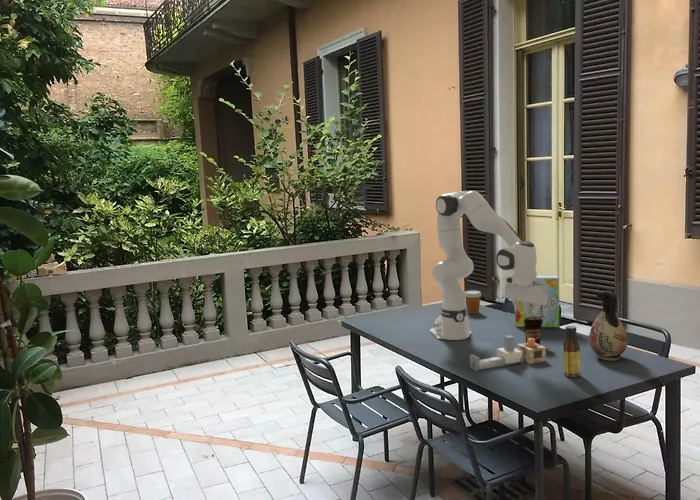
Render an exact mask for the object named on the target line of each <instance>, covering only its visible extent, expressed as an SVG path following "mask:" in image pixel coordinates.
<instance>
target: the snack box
mask: <svg viewBox="0 0 700 500" xmlns="http://www.w3.org/2000/svg"><path fill="white" fill-rule="evenodd" d="M537 282H542V283H544V284H545V286H546V290H547V297H548V302H547V304H545V305H540V307H539V309H538V313H537V314H532V310H534V308H535V306H534V304H532V303H527V302H522V301H517V303H518V306H520V310H515V309H514V322H515V323H514V324H515V325H514V326H515V328H525V325H524V320H525V319H526V317H531V316H537V317H541V320H542V321H543V323H542V327H541V328H559V327H560V299H559V298H560V297H559V295H560V293H559V291H560V290H559V285H560V282H559V277H558V275H556V274H555V275H554V274H553V275H552V274H551V275H550V274H549V275H546V274H543V275H542V274H541V275H537Z"/></svg>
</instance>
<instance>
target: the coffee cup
mask: <svg viewBox="0 0 700 500" xmlns="http://www.w3.org/2000/svg"><path fill="white" fill-rule="evenodd" d="M542 323H543V321H542V320H541V317H537V316H531V317H526V319H525V320H524V325H525V327H524V333H525V334H524V335H525V343H527V339H528V338H534V339H535V343H537V344H539V345H541V336H542V328H543V327H542Z"/></svg>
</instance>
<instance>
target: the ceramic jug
mask: <svg viewBox="0 0 700 500" xmlns="http://www.w3.org/2000/svg"><path fill="white" fill-rule="evenodd" d="M596 298H597V299H598V300H600V301H601V302H602V309H601V311H600V313H599V314H598V315H597V316H596V319H595V320H594V321H593V323H592V325H591V327H590V330H589V332H588V333H589V334H588V343H589V344H588V345H589V347H590V348H591V350H592V351H593V352H594V353H595V355H596V357H597V358H598V359H600V360H603V361H604V360H605V361H618V360H620V359H621V355H622V354H623V353H624V352H625V351H626V350H627V348H628V342H629V340H628V334H627V329H625V326H624V324H623V323H622V321H621V320H620V319H619V317H618V316H617V315H616V312H617V305H618V304H617V302H618V301H617V299H618V298H617V295H616V294H615V292H613V290H605V291H604V292H601V291H598V292H597V293H596Z"/></svg>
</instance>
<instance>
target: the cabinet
mask: <svg viewBox="0 0 700 500" xmlns="http://www.w3.org/2000/svg"><path fill="white" fill-rule="evenodd" d="M516 344H517V345H516V347H518V348H520V349H522V350H524V363H527V364H530V365H531V364H536V363H541V362H546V361H547V359H546V354H547V353H546V352H547V351H546V349H547V348H546V347H545V346H544V345H541V344H540V345H539V344H537V343H535V347H532V348H530V347H527V343H526V342H523V343H516Z"/></svg>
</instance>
